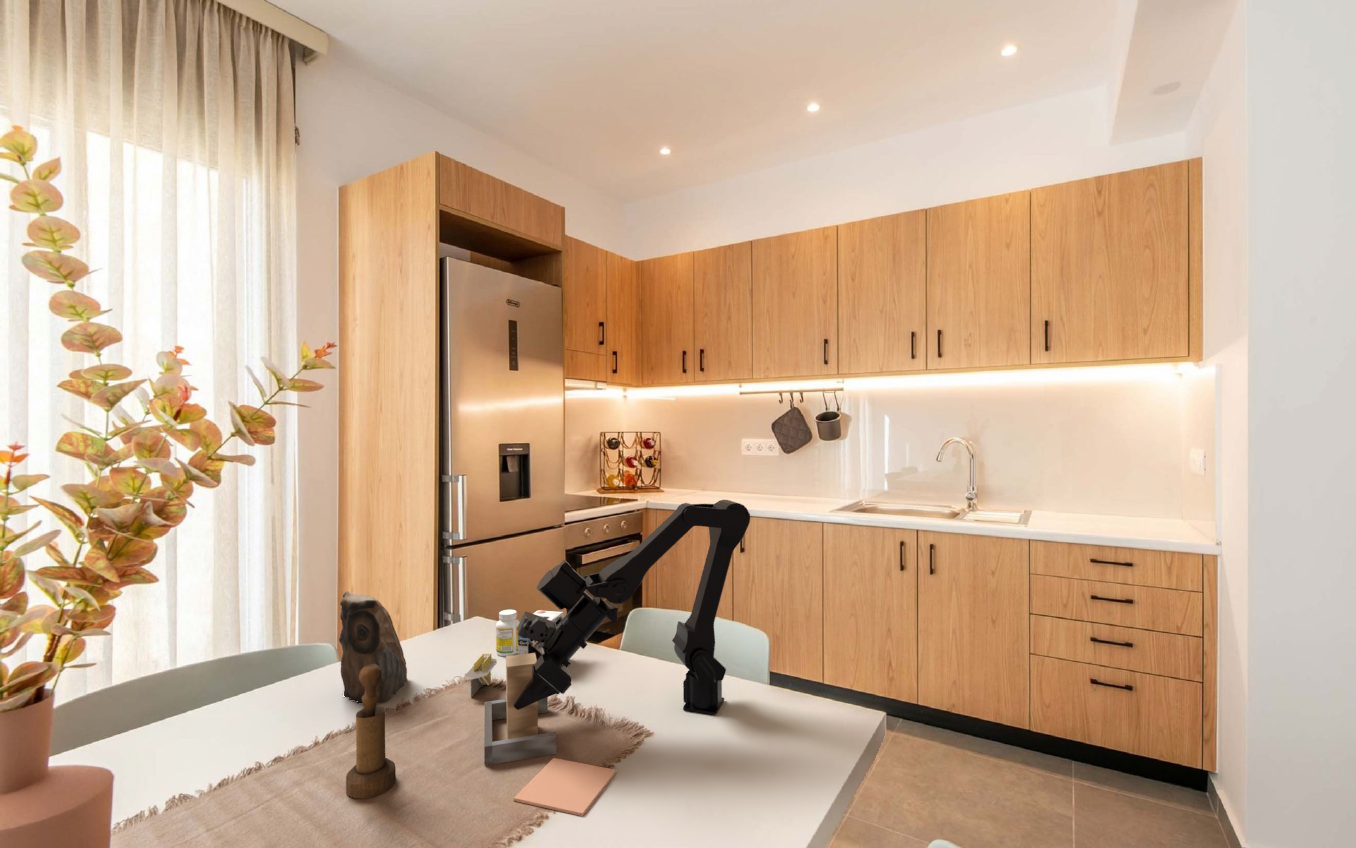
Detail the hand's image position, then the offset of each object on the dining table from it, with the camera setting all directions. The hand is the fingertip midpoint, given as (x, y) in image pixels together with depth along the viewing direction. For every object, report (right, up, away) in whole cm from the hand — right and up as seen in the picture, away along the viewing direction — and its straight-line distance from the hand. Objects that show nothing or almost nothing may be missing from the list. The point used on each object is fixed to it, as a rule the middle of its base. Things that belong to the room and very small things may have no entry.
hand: (514, 696), depth 105 cm
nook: (+1, -7, 0) cm, 7 cm away
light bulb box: (-2, -7, +31) cm, 31 cm away
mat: (+12, -7, -15) cm, 20 cm away
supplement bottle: (-12, -7, +39) cm, 41 cm away
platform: (-12, -8, +19) cm, 23 cm away
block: (+1, -7, 0) cm, 7 cm away
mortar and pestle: (-18, -7, -14) cm, 24 cm away
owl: (-33, -7, +18) cm, 38 cm away
